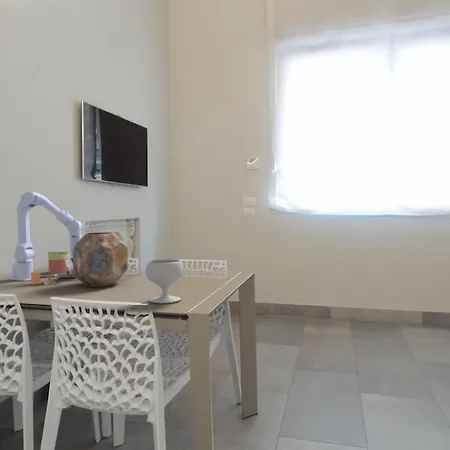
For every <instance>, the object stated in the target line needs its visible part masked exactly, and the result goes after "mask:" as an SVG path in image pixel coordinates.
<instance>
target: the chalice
mask: <svg viewBox="0 0 450 450" xmlns="http://www.w3.org/2000/svg"><path fill="white" fill-rule="evenodd" d="M183 275H184V267H183V263H182V262H181V260H180V259H172V258H171V259H170V258H169V259H167V258H164V259H163V258H162V259H152V260H149V261H148V263H147V264H146V268H145V276H146V279H147V280H148V281H150V282H151V283H153V284H155V285H157V286H159V288H161V291H162V294H161V295H158V296H154V297H150V298H149V299H148V301H149V302H150V303H153V304H172V303H177V302H180V301H181V300H182V298H181V297H179V296H175V295H170V294H168V293H169V292H168V290H169V288H170V287H171V286H172V285H174V284H175V283H177V282H178V281H180V280H181V279H182V278H183Z"/></svg>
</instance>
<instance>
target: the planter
mask: <svg viewBox="0 0 450 450" xmlns="http://www.w3.org/2000/svg"><path fill="white" fill-rule="evenodd" d="M128 251H129V250H128V246H127V245H126V244H125V242H124V240H122V239H121V238H120V237H119V236H118V235H117V234H116V233H115V232H105V231H103V232H87V233H85V234H84V235H82V238H81V239H80V240H79V241H78V242H77V243H76V245H75V246H74V247H73V256H72V258H73V263H72V269H73V272H74V273H75V275H76V277H77V279H76V280H79V281H80V282H81V283H82V284H83V285H85V286H86V287H91V288H103V287H104V286H105V287H111V286H112V285H113V286H114V285H116V283H117V282H118V281H119V280H120V279H121V278H122V277H123V276H124V275H125V274H126V272H127V271H128V270H129V262H128V261H129V259H128Z"/></svg>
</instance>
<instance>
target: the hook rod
mask: <svg viewBox="0 0 450 450" xmlns="http://www.w3.org/2000/svg"><path fill="white" fill-rule="evenodd" d="M61 276H62V275H61V274H51V279H56V278H58V277H61ZM42 279H48V274H45V275H44V274H43V275H41V271H33V272H31V280H30V283H31V285H41V284H42V281H41V280H42Z"/></svg>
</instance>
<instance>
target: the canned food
mask: <svg viewBox="0 0 450 450" xmlns="http://www.w3.org/2000/svg"><path fill="white" fill-rule="evenodd" d="M47 254H48V255H47V256H48V257H47V259H48V261H47V262H48V270H49V269H51V275H58V274H60V273H67V270H71V256H70V249H56V250H55V249H54V250H48V251H47Z"/></svg>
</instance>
